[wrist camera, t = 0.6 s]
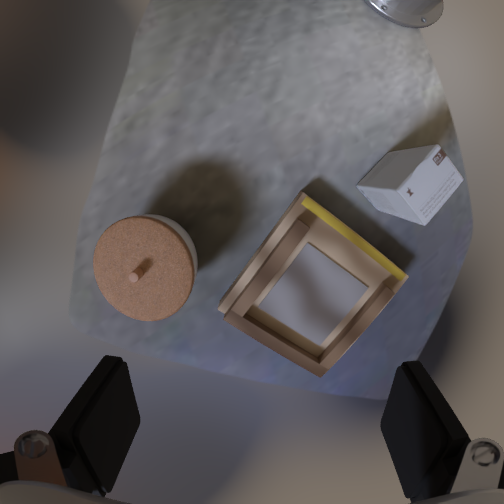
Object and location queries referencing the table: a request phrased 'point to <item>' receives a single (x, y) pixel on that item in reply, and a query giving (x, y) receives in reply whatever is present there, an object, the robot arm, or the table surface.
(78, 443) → the robot arm
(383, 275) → the frame
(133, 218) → the lidded jar
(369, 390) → the table surface
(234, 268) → the table surface
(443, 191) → the skincare box
